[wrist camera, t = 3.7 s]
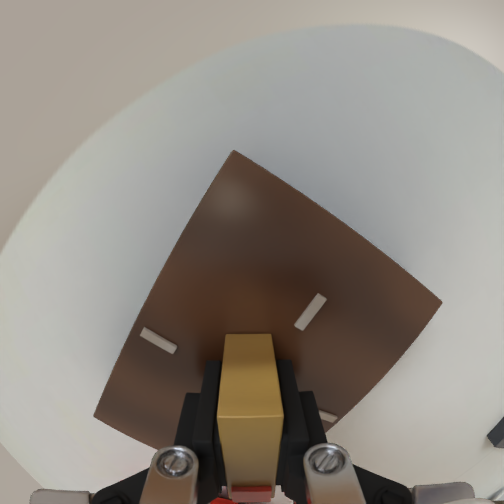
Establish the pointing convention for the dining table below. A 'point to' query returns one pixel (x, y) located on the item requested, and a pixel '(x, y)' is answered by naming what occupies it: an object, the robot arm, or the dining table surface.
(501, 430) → the button box
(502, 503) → the bowl
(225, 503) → the tomato
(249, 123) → the dining table surface
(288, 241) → the plate
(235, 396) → the lock knob
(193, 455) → the robot arm
